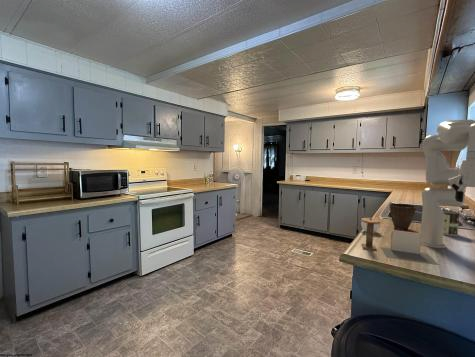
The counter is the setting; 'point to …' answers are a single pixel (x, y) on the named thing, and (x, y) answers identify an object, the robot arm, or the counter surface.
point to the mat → (409, 256)
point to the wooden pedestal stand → (369, 237)
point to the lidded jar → (365, 220)
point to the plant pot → (402, 215)
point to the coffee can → (451, 223)
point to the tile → (405, 241)
